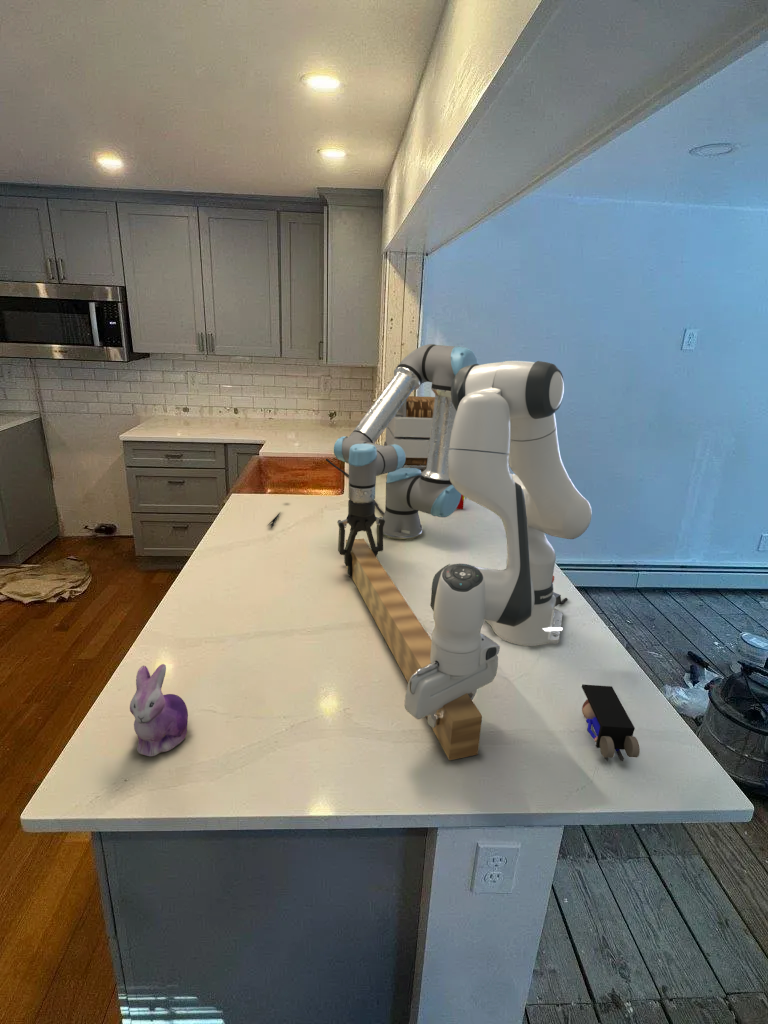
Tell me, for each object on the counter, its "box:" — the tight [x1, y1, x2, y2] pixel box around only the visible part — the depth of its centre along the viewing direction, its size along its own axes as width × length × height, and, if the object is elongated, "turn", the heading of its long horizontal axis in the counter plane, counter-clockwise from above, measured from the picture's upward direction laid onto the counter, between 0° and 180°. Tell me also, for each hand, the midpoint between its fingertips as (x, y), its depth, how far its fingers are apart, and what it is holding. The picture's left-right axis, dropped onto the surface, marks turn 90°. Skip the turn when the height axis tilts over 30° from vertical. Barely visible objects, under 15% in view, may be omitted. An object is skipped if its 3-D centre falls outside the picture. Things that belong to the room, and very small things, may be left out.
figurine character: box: [581, 684, 641, 762], centre depth 105 cm, size 7×8×15 cm
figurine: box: [129, 663, 189, 757], centre depth 99 cm, size 9×10×15 cm
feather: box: [266, 512, 281, 529], centre depth 211 cm, size 2×28×2 cm
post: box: [345, 537, 483, 761], centre depth 136 cm, size 81×6×9 cm, turn 17°
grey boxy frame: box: [383, 395, 435, 468], centre depth 268 cm, size 34×33×41 cm
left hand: (360, 573), depth 167 cm, fingers closed on post, 6 cm apart
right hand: (449, 715), depth 106 cm, fingers closed on post, 6 cm apart
